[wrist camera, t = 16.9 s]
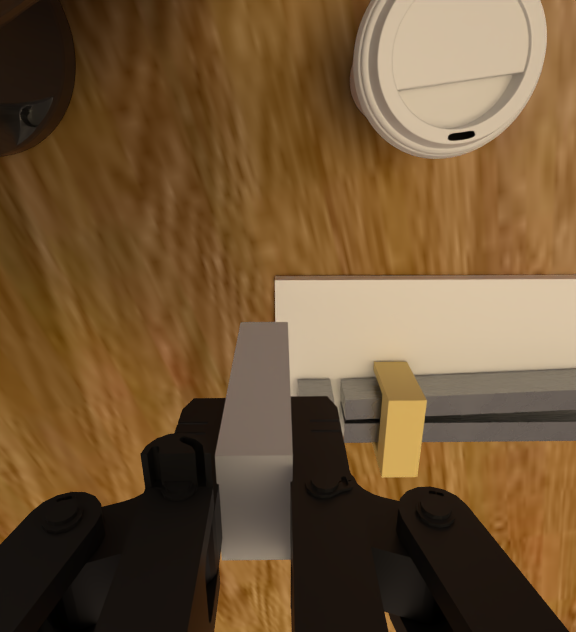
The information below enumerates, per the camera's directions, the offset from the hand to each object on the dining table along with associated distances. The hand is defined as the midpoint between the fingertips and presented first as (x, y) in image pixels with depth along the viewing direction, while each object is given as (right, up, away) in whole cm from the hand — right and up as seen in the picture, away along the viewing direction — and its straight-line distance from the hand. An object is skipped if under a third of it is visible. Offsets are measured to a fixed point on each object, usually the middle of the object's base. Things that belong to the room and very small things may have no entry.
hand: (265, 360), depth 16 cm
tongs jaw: (+18, -5, +29) cm, 34 cm away
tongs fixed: (+16, -6, +30) cm, 34 cm away
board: (+17, -2, +30) cm, 34 cm away
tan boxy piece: (+10, -6, +30) cm, 32 cm away
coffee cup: (+9, +19, +21) cm, 30 cm away
